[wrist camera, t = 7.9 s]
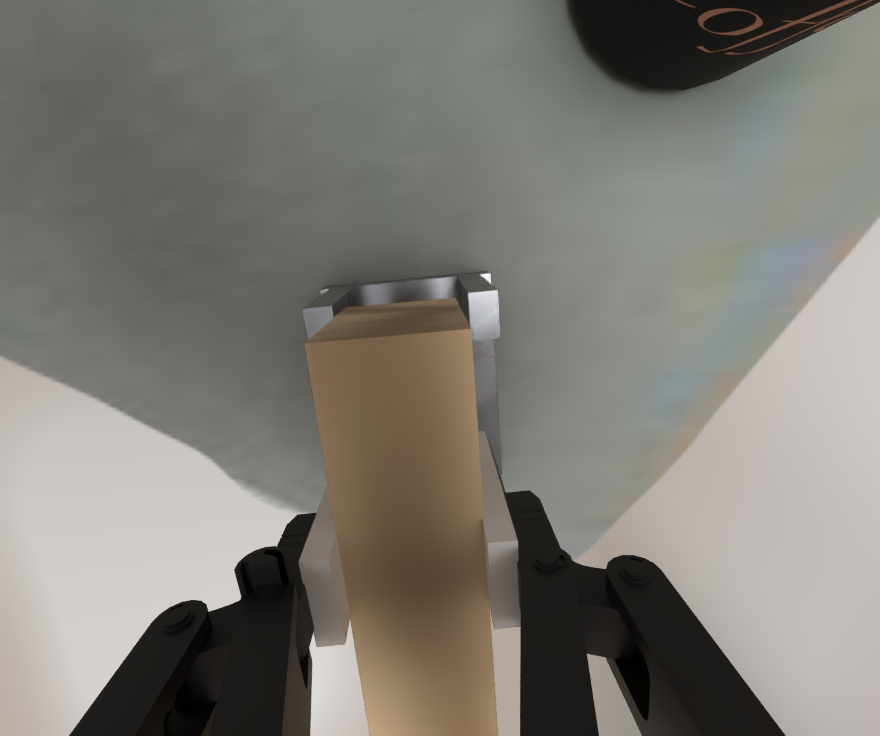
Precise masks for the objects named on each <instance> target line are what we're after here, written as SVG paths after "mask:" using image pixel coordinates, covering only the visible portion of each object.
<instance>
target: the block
mask: <svg viewBox="0 0 880 736" xmlns="http://www.w3.org/2000/svg"><path fill="white" fill-rule="evenodd" d="M304 346H305V352H306V358H307V364H308V370H309V376H310V382H311V388H312V394H313V400H314V406H315V412H316V418H317V424H318V430H319V436H320V442H321V448H322V454H323V460H324V466H325V472H326V478H327V484H328V490H329V496H330V502H331V508H332V514H333V520H334V526H335V531H336V535H337V541H338V547H339V552H340V558H341V564H342V569H343V575H344V580H345V586H346V592H347V597H348V603H349V609H350V614H351V615H350V621H351V627H352V633H353V639H354V645H355V651H356V657H357V663H358V669H359V675H360V681H361V687H362V693H363V699H364V705H365V711H366V717H367V722H368V729H369V735H370V736H498V726H497V712H496V711H497V710H496V695H495V681H494V665H493V650H492V635H491V621H490V604H489V596H488V583H487V570H486V557H485V544H484V531H483V518H484V513H483V498H482V483H481V468H480V453H479V437H478V422H477V407H476V392H475V377H474V362H473V346H472V331H471V327H470V325H469V323H468V321H467V320H466V318H465V316H464V314H463V312H462V310H461V308H460V306H459V304H458V302H457V300H456V298H447V299H436V300H424V301H413V302H401V303H390V304H379V305H367V306H356V307H345V308H344V309H343V310H342V311H341V312H340V313H338V314H337V315H336V316H335V317H334V318H333V319H332V320H330V321H329V322H328V323H327V324H326V325H325V326H324V327H322V328H321V329H320V330H319V331H318V332H317V333H316V334H314V335H313V336H312V337H311V338H310V339H309V340H308V341H306V342H305V343H304Z"/></svg>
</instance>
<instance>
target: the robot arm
mask: <svg viewBox="0 0 880 736" xmlns="http://www.w3.org/2000/svg"><path fill="white" fill-rule="evenodd" d="M478 437H479V453H480V468H481V483H482V498H483V513H484V518H483V531H484V544H485V557H486V570H487V583H488V596H489V604H490V610H491V616H492V621H493V627H494V629H501V628H510V627H521V668H520V669H521V674H520V675H521V676H520V679H521V680H520V686H521V687H520V736H599V734H598V727H597V720H596V713H595V707H594V701H593V693H592V686H591V679H590V673H589V666H588V659H587V654H591V655H597V656H602V657H606V659H607V661H608V664H609V666H610V668H611V670H612V672H613V674H614V677H615V679H616V681H617V683H618V685H619V687H620V689H621V691H622V694H623V696H624V698H625V700H626V702H627V704H628V707H629V708H630V711H631V713H632V715H633V717H634V719H635V722H636V724H637V726H638V728H639V730H640V732H641V734H642V736H785V734H784V733H783V732H782V730H781V729H780V728H779V726H778V725H777V724H776V723H775V721H774V720H773V719H772V717H771V716H770V714H769V713H768V712H767V710H766V709H765V708H764V706H763V705H762V704H761V702H760V701H759V700H758V699H757V697H756V696H755V695H754V693H753V692H752V691H751V689H750V688H749V686H748V685H747V684H746V682H745V681H744V680H743V678H742V677H741V676H740V674H739V673H738V672H737V670H736V669H735V668H734V666H733V665H732V664H731V663H730V661H729V660H728V658H727V657H726V656H725V655H724V653H723V652H722V650H721V649H720V648H719V646H718V645H717V644H716V642H715V641H714V640H713V638H712V637H711V636H710V634H709V633H708V632H707V631H706V629H705V628H704V627H703V625H702V624H701V623H700V621H699V620H698V619H697V617H696V616H695V614H694V613H693V612H692V611H691V610H690V608H689V607H688V605H687V604H686V603H685V601H684V600H683V598H682V597H681V596H680V595H679V593H678V592H677V591H676V589H675V588H674V587H673V585H672V584H671V583H670V581H669V580H668V579H667V577H666V576H665V575H664V573H663V572H662V571H661V570H660V568H658V567H657V566H656V565H655V564H654V563H652V562H650V561H649V560H647V559H645V558H642V557H638V556H634V555H622V556H618V557H615V558H613V559H612V560H611V561H609V562H608V565H607V568H606V569H600V568H593V567H588V566H583V565H581V564H578V563H576V562H574V561H572V559H571V557H570V555H569V554H567V553H566V552H565V551H564V550H562V549H561V548H560V546H559V543H558V541H557V539H556V536H555V534H554V532H553V529H552V527H551V525H550V522H549V520H548V519H547V515H546V513H545V511H544V508H543V506H542V503H541V501H540V499H539V498H538V497H537V496H536V495H534V494H533V493H532V492H531V491H519V492H509V493H503V490H502V487H501V483H500V480H499V477H498V473H497V470H496V467H495V463H494V460H493V457H492V453H491V450H490V447H489V443H488V440H487V437H486V433H485V431H478ZM234 571H235V574H236V578H237V582H238V586H239V589H240V593H241V600H240V601H238V602H235V603H233V604H231V605H228V606H225V607H222V608H219V609H216V610H213V611H210V612H208V608H207V605H206V604H205V603H203V602H202V601H197V600H190V601H185V602H181V603H179V604H176V605H174V606H172V607H170V608H168V609H167V610H165V611H164V612H162V613H161V614H160V615H159V616H158V617H157V618H156V619H155V620H154V621H153V622H152V623H151V624H150V626H149V627H148V629H147V630H146V631H145V633H144V634H143V635H142V637H141V638H140V639H139V641H138V642H137V643H136V645H135V646H134V648H133V649H132V650H131V652H130V653H129V655H128V656H127V657H126V659H125V660H124V661H123V663H122V664H121V665H120V667H119V668H118V669H117V671H116V672H115V674H114V675H113V676H112V678H111V679H110V680H109V682H108V683H107V685H106V686H105V687H104V689H103V690H102V691H101V693H100V694H99V695H98V697H97V698H96V700H95V701H94V702H93V704H92V705H91V707H90V708H89V709H88V711H87V712H86V713H85V715H84V716H83V717H82V719H81V720H80V722H79V723H78V724H77V726H76V727H75V728H74V730H73V731H72V732H71V734H70V735H69V736H310V721H311V719H310V718H311V686H312V658H311V654H310V650H309V646H310V642H311V638H312V635H313V632H314V637H315V641H316V645H317V647H323V646H333V645H343V644H345V642H346V637H347V631H348V626H349V620H350V615H351V614H350V609H349V603H348V597H347V592H346V586H345V580H344V575H343V569H342V564H341V558H340V552H339V547H338V541H337V535H336V531H335V526H334V520H333V514H332V508H331V502H330V496H329V490H328V484H327V487H326V490H325V492H324V495H323V498H322V500H321V503H320V506H319V508H318V511H317V513H309V514H299V515H297V516H296V517H295V518H294V519H293V520H291V521H290V523H288V524H287V526H286V528H285V530H284V532H283V534H282V538H281V539H280V541H279V543H278V547H276V546H274V547H273V546H272V547H264V548H261V549H259V550H255V551H253V552H252V553H250V554H248V555H246V556H245V557H244V558H243V559H242V560H241V561H240V562H239V563H238V564H237V566H236V568H235V569H234Z"/></svg>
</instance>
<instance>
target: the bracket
mask: <svg viewBox="0 0 880 736" xmlns="http://www.w3.org/2000/svg"><path fill="white" fill-rule="evenodd" d="M320 294H321V296H320V297H318V298H317V299H315V300H314V301H313V302H311V303H310V304H308V305H307V306H306V307H304V308H303V309H302V312H303V317H304V323H305V328H306V334H307V339H308V340H309V339H310V338H311V337H312V336H313V335H314V334H316V333H317V332H318V331H319V330H320V329H321V328H322V327H324V326H325V325H326V324H327V323H328V322H329V321H330V320H332V319H333V318H334V317H335V316H336V315H337V314H338V313H340V312H341V311H342V310H343V309H344V308H345V307H356V306H367V305H379V304H390V303H401V302H413V301H424V300H436V299H447V298H456V300H457V302H458V304H459V306H460V308H461V310H462V312H463V314H464V316H465V318H466V320H467V321H468V323H469V325H470V327H471V331H472V346H473V362H474V377H475V392H476V407H477V422H478V431H485V433H486V437H487V440H488V443H489V447H490V450H491V453H492V457H493V460H494V463H495V467H496V470H497V473H498V477H499V480H500V483H501V487H502V490H503V493H506V492H505V489H504V485H503V482H502V479H501V476H500V474H502V467H501V449H500V432H499V415H498V397H497V380H496V363H495V345H494V339H498V338H500V322H499V304H498V290H497V289H496V288H495V287H494V286H493V285H491V276H490V273H489V272H488V271H486V272H476V273H466V274H455V275H445V276H435V277H424V278H414V279H404V280H393V281H383V282H373V283H362V284H352V285H342V286H332V287H323V288H322V289H320Z"/></svg>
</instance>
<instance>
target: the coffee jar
mask: <svg viewBox="0 0 880 736" xmlns="http://www.w3.org/2000/svg"><path fill="white" fill-rule="evenodd" d="M879 2H880V0H574V3H575V9H576V13H577V15H578V17H579V20H580V22H581V24H582V26H583V28H584V30H585V32H586V34H587V37H588V39H589V41H590V43H591V45H592V47H593V48H594V49H595V50H596V51H597V52H598V53H599V54H600V55H601V56H602V58H603V59H604V60H605V61H606V62H607V63H608V64H609V65H610V66H611V67H612V68H613V69H614V70H615V71H616V72H617V73H619V74H621V75H624V76H626V77H628V78H630V79H632V80H634V81H636V82H639V83H641V84H643V85H645V86H647V87H649V88H663V89H678V90H685V89H689V88H692V87H696V86H699V85H702V84H706V83H709V82H713V81H716V80H719V79H721V78H723V77H725V76H728V75H730V74H732V73H734V72H736V71H738V70H740V69H742V68H744V67H746V66H748V65H750V64H752V63H754V62H756V61H759V60H761V59H763V58H765V57H767V56H769V55H771V54H773V53H775V52H777V51H779V50H781V49H783V48H785V47H788V46H790V45H792V44H794V43H796V42H798V41H800V40H802V39H804V38H806V37H808V36H810V35H812V34H814V33H816V32H819V31H821V30H823V29H825V28H827V27H829V26H831V25H833V24H835V23H837V22H839V21H841V20H843V19H845V18H848V17H850V16H852V15H854V14H856V13H858V12H860V11H862V10H864V9H866V8H868V7H870V6H872V5H874V4H876V3H879Z"/></svg>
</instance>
